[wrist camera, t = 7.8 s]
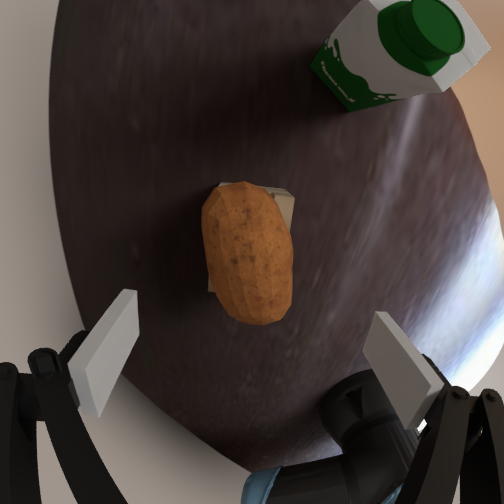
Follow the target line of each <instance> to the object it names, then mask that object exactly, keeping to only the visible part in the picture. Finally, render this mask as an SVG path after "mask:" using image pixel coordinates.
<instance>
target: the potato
mask: <svg viewBox="0 0 504 504" xmlns="http://www.w3.org/2000/svg"><path fill="white" fill-rule="evenodd" d="M202 233H203V240H204V247H205V254H206V261H207V267H208V272H209V278H210V282H211V284H212V286H213V289H214V291H215V293H216V295H217V297H218V299H219V301H220V302H221V304H222V305H223V307H224V308H225V310H226V311H227V313H228V315H230V316H232V317H234V318H235V319H237V320H239V321H241V322H243V323H245V324H254V325H266V324H269V323H272V322H275V321H278V320H280V319H281V318H282V317H283V316H284V314H285V313H286V311H287V310H288V308H289V306H290V305H291V300H292V263H293V247H292V240H291V235H290V232H289V230H288V228H287V225H286V223H285V221H284V218H283V216H282V214H281V211H280V209H279V206H278V204H277V202H276V201H275V200H274V199H273V197H272V196H271V195H270V194H269V192H268V191H267V190H266V189H264V188H261V187H258V186H256V185H253V184H250V183H248V182H245V181H242V182H237V183H232V184H228V185H223V186H219V187H215V188H214V189H213V191H212V192H211V194H210V195H209V197H208V198H207V200H206V201H205V203H204V205H203V206H202Z"/></svg>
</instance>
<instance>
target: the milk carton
mask: <svg viewBox="0 0 504 504" xmlns="http://www.w3.org/2000/svg"><path fill="white" fill-rule="evenodd" d="M490 49H491V48H490V46H489V44H488V43H487V41H486V40H485V38H484V37H483V35H482V34H481V32H480V31H479V29H478V28H477V26H476V25H475V24H474V22H473V21H472V19H471V18H470V17H469V15H468V14H467V13H466V11H465V10H464V9H463V7H462V6H461V5H460V4H459V2H458V1H457V0H361V1H360V2H359V3H358V4H357V5H356V6H355V7H354V8H353V9H352V10H351V11H350V13H349V14H348V15H347V16H346V17H345V18H344V20H343V21H342V22H341V23H340V24H339V25H338V27H337V28H336V29H335V30H334V31H333V33H332V34H331V35H330V36H329V37H328V39H327V40H326V41H325V43H324V44H323V45H322V47H321V48H320V50H319V52H318V53H317V55H316V56H315V58H314V60H313V61H312V63H311V65H310V66H309V67H310V68H311V69H312V70H313V71H314V72H315V73H316V74H317V76H318V77H319V78H320V79H321V80H322V81H323V82H324V83H325V84H326V86H327V87H328V88H329V89H330V90H331V91H332V92H333V93H334V95H335V96H336V97H337V98H338V99H339V101H340V102H341V103H342V104H343V105H344V106H345V108H346V109H347V110H348V111H349V112H353V111H357V110H361V109H365V108H370V107H374V106H378V105H382V104H386V103H389V102H393V101H397V100H401V99H404V98H408V97H412V96H416V95H420V94H424V93H436V92H444V91H445V90H446V89H447V88H449V87H450V86H451V85H452V84H453V83H454V82H456V81H457V80H458V79H459V78H460V77H461V76H462V75H464V74H465V73H466V72H467V71H468V70H470V69H471V68H472V67H474V66H475V65H476V64H477V63H478V62H479V59H480V58H481V57H482V56H484V55H485V54H486V53H487V52H488V51H489V50H490Z"/></svg>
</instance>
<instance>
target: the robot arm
mask: <svg viewBox="0 0 504 504" xmlns="http://www.w3.org/2000/svg"><path fill="white" fill-rule="evenodd" d="M138 336H139V322H138V305H137V291H136V290H129V289H123V290H122V292H121V293H120V294H119V295H118V297H117V298H116V299H115V300H114V302H113V303H112V304H111V306H110V307H109V308H108V309H107V311H106V312H105V313H104V315H103V316H102V317H101V319H100V320H99V321H98V323H97V324H96V325H95V327H94V328H93V329H92V331H91V332H89V331H84V330H82V331H80V332H78V333H77V334H75V335H74V336H73V337H72V338H71V339H70V341H69V343H67V345H66V346H65V348H63V350H62V351H61V352H60V354H59V355H58V354H57V352H56V351H55V350H53V349H50V348H39V349H36V350H34V351H33V352H31V353H30V355H29V356H28V364H29V367H30V370H31V372H32V374H27V373H19V372H18V369H17V367H16V366H15V365H14V364H12V363H9V362H3V363H0V504H42V502H41V495H40V486H39V477H38V463H37V438H36V421H45V424H46V427H47V430H48V433H49V435H50V439H51V442H52V445H53V447H54V450H55V453H56V456H57V458H58V461H59V463H60V466H61V468H62V471H63V473H64V475H65V478H66V480H67V482H68V484H69V486H70V489H71V491H72V493H73V495H74V497H75V499H76V501H77V503H78V504H128V503H127V501H126V500H125V498H124V497H123V495H122V494H121V492H120V491H119V489H118V487H117V486H116V484H115V482H114V481H113V479H112V477H111V476H110V474H109V472H108V470H107V469H106V467H105V465H104V463H103V462H102V460H101V458H100V456H99V454H98V452H97V450H96V448H95V446H94V444H93V442H92V440H91V438H90V436H89V434H88V432H87V430H86V428H85V425H84V423H83V421H82V419H81V416H80V414H79V412H78V407H79V406H80V407H81V410H82V412H83V414H85V415H89V416H93V417H96V418H100V415H101V413H102V411H103V409H104V407H105V404H106V402H107V400H108V398H109V396H110V393H111V391H112V389H113V387H114V385H115V383H116V380H117V378H118V376H119V374H120V372H121V370H122V368H123V366H124V364H125V362H126V360H127V358H128V356H129V354H130V352H131V350H132V348H133V346H134V344H135V342H136V340H137V338H138ZM362 351H363V353H364V355H365V357H366V359H367V360H368V362H369V364H370V366H371V367H372V369H371V370H367V371H363V372H360V373H357V374H355V375H353V376H350V377H349V378H347V379H345V380H343V381H342V382H340V383H339V384H338V385H336V386H335V387H334V388H333V389H332V390H331V391H330V392H329V393H328V394H327V395H326V397H325V398H324V400H323V401H322V404H321V406H320V417H321V421H322V424H323V427H324V428H325V430H326V431H327V432H328V433H329V434H330V436H331V437H332V438H333V439H334V441H335V442H336V443H337V444H338V445H339V446H340V448H341V449H342V453H343V454H341V455H337V456H333V457H329V458H325V459H320V460H316V461H311V462H306V463H301V464H296V465H290V466H285V467H283V466H282V465H281V466H278V467H277V468H272V469H267V470H261V471H256V472H254V473H252V474H251V475H250V476H249V477H248V478H247V480H246V482H245V484H244V487H243V491H242V497H241V504H452V502H453V498H454V495H455V491H456V486H457V483H458V478H459V474H460V504H504V404H503V401H502V398H501V396H500V395H499V394H498V393H497V391H495V390H493V389H484V390H483V391H482V392H481V394H480V396H479V397H478V396H470V395H469V393H468V392H467V391H466V390H465V389H464V388H462V387H459V386H451V384H450V383H449V382H448V380H447V379H446V378H445V377H444V375H443V374H442V373H441V371H439V369H438V368H437V366H435V364H434V363H433V361H432V360H431V359H430V358H428V357H427V356H426V355H424V354H421V353H420V352H419V351H418V350H417V348H416V347H415V346H414V345H413V343H412V342H411V341H410V340H409V338H408V337H407V336H406V335H405V333H404V332H403V331H402V330H401V329H400V327H399V326H398V325H397V324H396V323H395V321H394V320H393V319H392V318H391V317H390V315H389V314H388V313H387V312H375V314H374V317H373V320H372V324H371V327H370V330H369V333H368V336H367V339H366V342H365V344H364V347H363V350H362ZM423 419H425V421H426V423H427V424H426V426H425V427H424V429H423V430H422V432H421V433H419V431H418V429H417V428H418V427H419V425H420V424H421V422H422V421H423ZM482 429H483V430H482ZM481 431H482V434H481Z"/></svg>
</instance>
